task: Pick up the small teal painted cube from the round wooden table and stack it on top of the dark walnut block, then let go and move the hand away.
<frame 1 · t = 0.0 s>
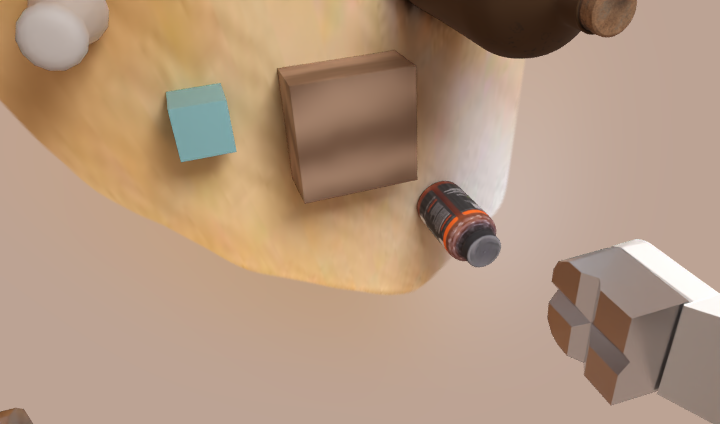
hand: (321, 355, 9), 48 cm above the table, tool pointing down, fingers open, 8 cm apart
teal cube: (199, 112, 55), on the table
supplement bottle: (437, 200, 69), on the table
walnut block: (341, 115, 60), on the table
salt shaker: (72, 3, 47), on the table
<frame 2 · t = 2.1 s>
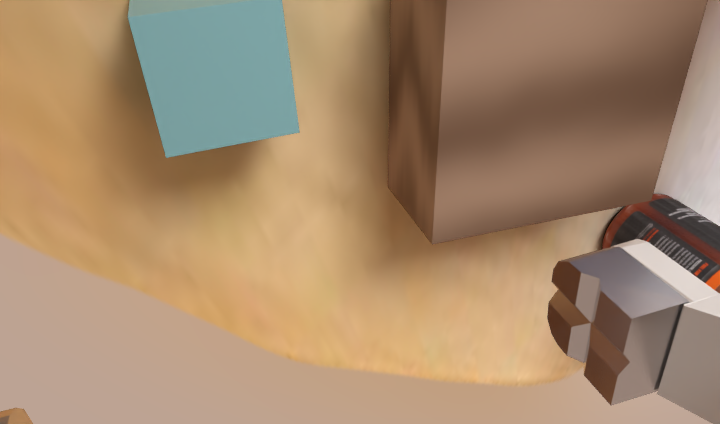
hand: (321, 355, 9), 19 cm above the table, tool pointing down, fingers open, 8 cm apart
teal cube: (208, 45, 24), on the table
supplement bottle: (633, 227, 39), on the table
walnut block: (498, 62, 29), on the table
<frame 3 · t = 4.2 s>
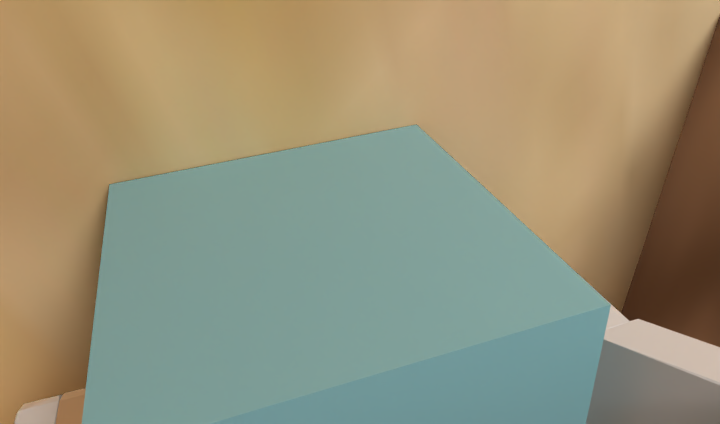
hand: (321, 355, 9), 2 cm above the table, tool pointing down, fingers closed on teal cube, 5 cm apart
teal cube: (292, 275, 11), on the table, touching gripper
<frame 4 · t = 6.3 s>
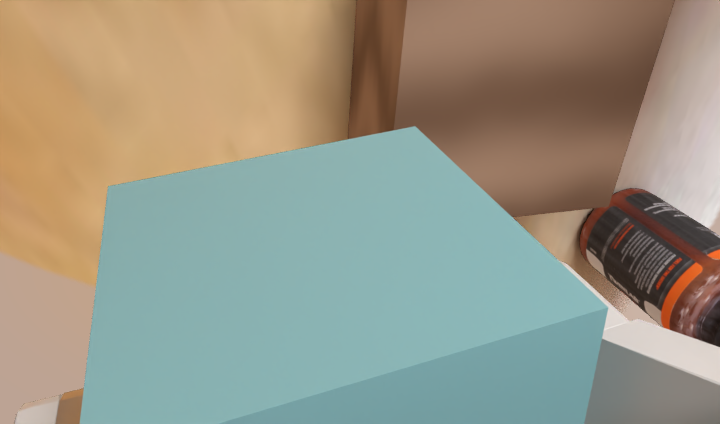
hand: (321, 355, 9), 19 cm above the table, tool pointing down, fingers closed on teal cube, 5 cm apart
teal cube: (291, 277, 11), point 17 cm above the table, touching gripper
supplement bottle: (612, 223, 38), on the table
walnut block: (465, 55, 29), on the table
when the fingers open (9 cm above the table, at t = 8.7 s): teal cube drops 1 cm, resting on walnut block.
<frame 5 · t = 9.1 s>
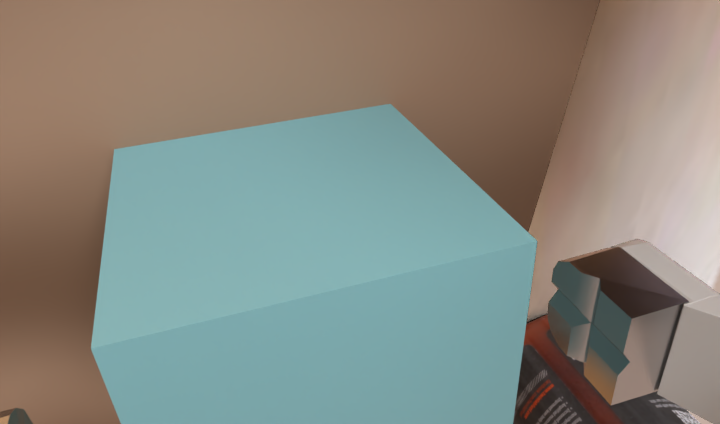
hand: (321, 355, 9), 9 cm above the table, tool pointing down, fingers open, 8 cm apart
teal cube: (277, 240, 12), point 6 cm above the table, touching walnut block
supplement bottle: (535, 355, 26), on the table
walnut block: (239, 131, 17), on the table, touching teal cube
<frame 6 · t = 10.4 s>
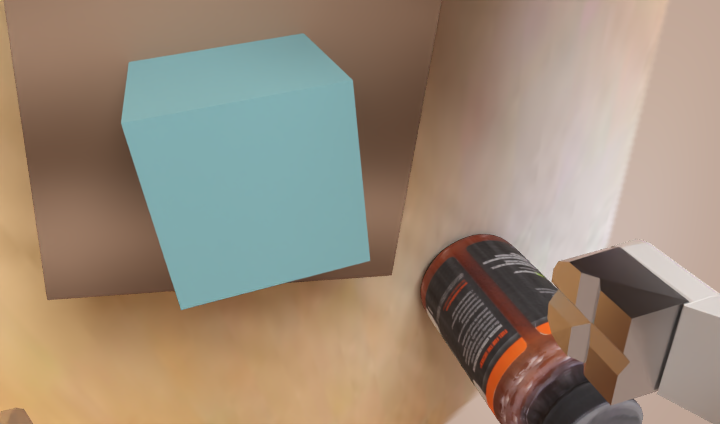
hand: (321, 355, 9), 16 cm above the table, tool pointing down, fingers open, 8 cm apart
teal cube: (236, 128, 18), point 6 cm above the table, touching walnut block
supplement bottle: (465, 274, 32), on the table
walnut block: (221, 74, 23), on the table, touching teal cube
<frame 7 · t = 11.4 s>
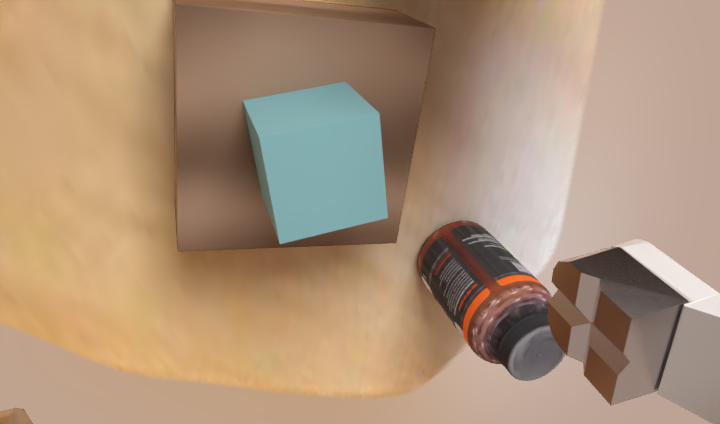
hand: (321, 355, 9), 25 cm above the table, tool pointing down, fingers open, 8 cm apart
teal cube: (302, 139, 28), point 6 cm above the table, touching walnut block
supplement bottle: (451, 252, 42), on the table
walnut block: (281, 106, 34), on the table, touching teal cube
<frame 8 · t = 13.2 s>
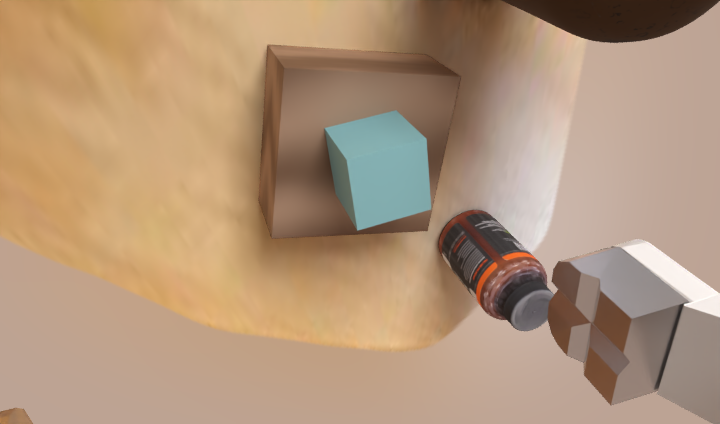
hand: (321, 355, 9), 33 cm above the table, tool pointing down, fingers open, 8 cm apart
teal cube: (365, 152, 39), point 6 cm above the table, touching walnut block
supplement bottle: (464, 234, 53), on the table
walnut block: (340, 127, 44), on the table, touching teal cube
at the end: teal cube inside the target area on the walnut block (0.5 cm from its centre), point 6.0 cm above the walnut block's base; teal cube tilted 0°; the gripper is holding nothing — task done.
